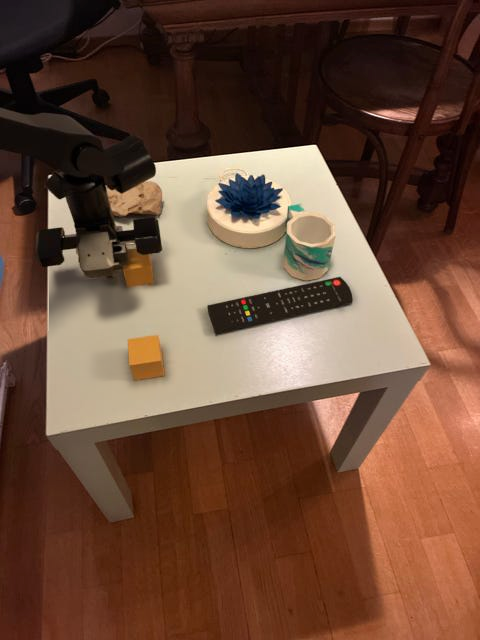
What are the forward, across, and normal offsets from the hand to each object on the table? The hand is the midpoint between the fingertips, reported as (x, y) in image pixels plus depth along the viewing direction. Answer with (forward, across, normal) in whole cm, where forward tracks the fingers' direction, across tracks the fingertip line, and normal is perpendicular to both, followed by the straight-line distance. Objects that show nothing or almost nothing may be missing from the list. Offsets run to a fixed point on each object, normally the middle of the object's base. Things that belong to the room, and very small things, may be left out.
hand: (110, 276), depth 82 cm
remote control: (+1, +27, -11) cm, 30 cm away
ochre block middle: (+1, +5, 0) cm, 5 cm away
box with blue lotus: (+1, +26, +13) cm, 29 cm away
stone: (+1, +5, +18) cm, 19 cm away
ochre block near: (+1, +5, -18) cm, 19 cm away
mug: (+1, +34, 0) cm, 34 cm away
